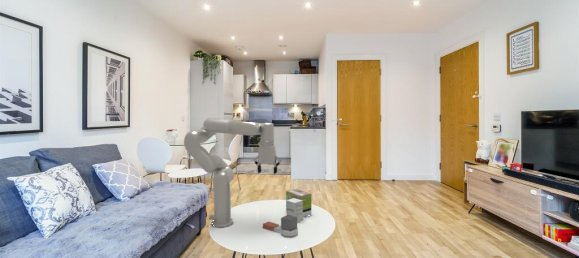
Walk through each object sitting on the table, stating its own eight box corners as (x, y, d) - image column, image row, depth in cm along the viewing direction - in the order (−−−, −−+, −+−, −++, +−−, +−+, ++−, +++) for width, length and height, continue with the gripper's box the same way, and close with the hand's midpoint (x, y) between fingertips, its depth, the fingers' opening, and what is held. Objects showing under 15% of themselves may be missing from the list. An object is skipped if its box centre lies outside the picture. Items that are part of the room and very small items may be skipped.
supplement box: (285, 220, 160) (286, 200, 160) (294, 217, 166) (294, 197, 166) (294, 223, 155) (294, 202, 155) (303, 220, 161) (303, 200, 160)
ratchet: (301, 233, 142) (301, 221, 142) (291, 239, 135) (291, 226, 135) (270, 224, 155) (270, 213, 155) (260, 229, 148) (260, 217, 147)
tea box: (285, 212, 175) (285, 190, 175) (297, 209, 181) (297, 188, 181) (300, 219, 163) (300, 195, 163) (312, 215, 169) (312, 192, 169)
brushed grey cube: (281, 229, 141) (281, 217, 140) (287, 225, 146) (287, 214, 145) (290, 231, 137) (290, 220, 137) (297, 228, 142) (297, 216, 142)
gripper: (250, 144, 152) (251, 173, 152) (279, 144, 147) (279, 175, 148) (256, 143, 159) (256, 171, 160) (283, 143, 155) (283, 172, 155)
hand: (267, 173), depth 154 cm, fingers open, 9 cm apart
